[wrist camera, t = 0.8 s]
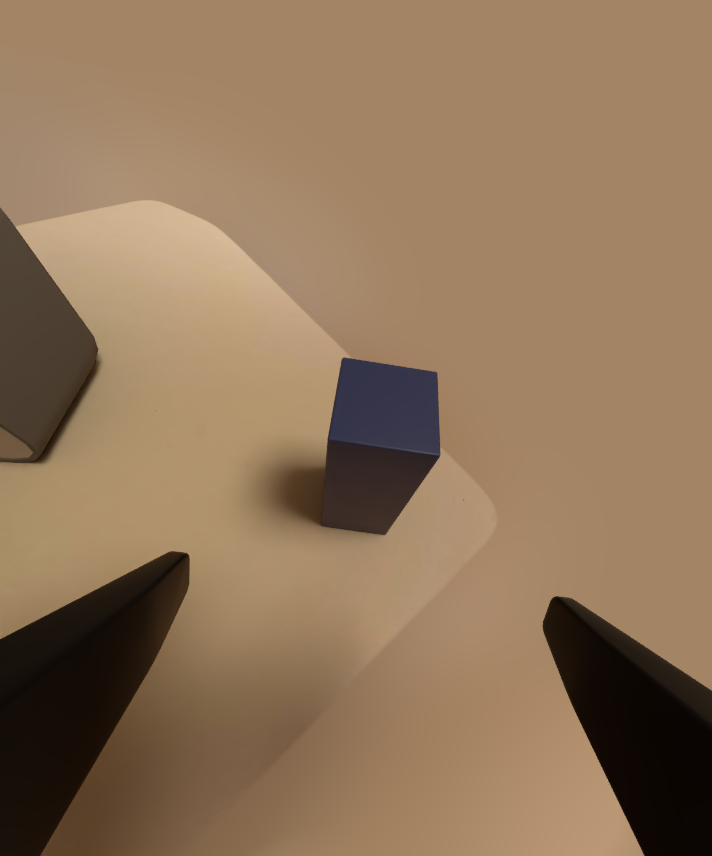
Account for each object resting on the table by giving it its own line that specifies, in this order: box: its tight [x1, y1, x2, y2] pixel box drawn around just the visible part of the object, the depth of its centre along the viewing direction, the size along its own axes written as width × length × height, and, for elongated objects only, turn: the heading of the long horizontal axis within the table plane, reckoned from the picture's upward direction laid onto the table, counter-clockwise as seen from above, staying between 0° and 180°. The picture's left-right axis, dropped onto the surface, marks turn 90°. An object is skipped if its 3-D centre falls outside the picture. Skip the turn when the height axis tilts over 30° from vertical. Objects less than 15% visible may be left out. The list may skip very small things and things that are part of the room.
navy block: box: [321, 358, 440, 535], centre depth 20 cm, size 5×5×12 cm
